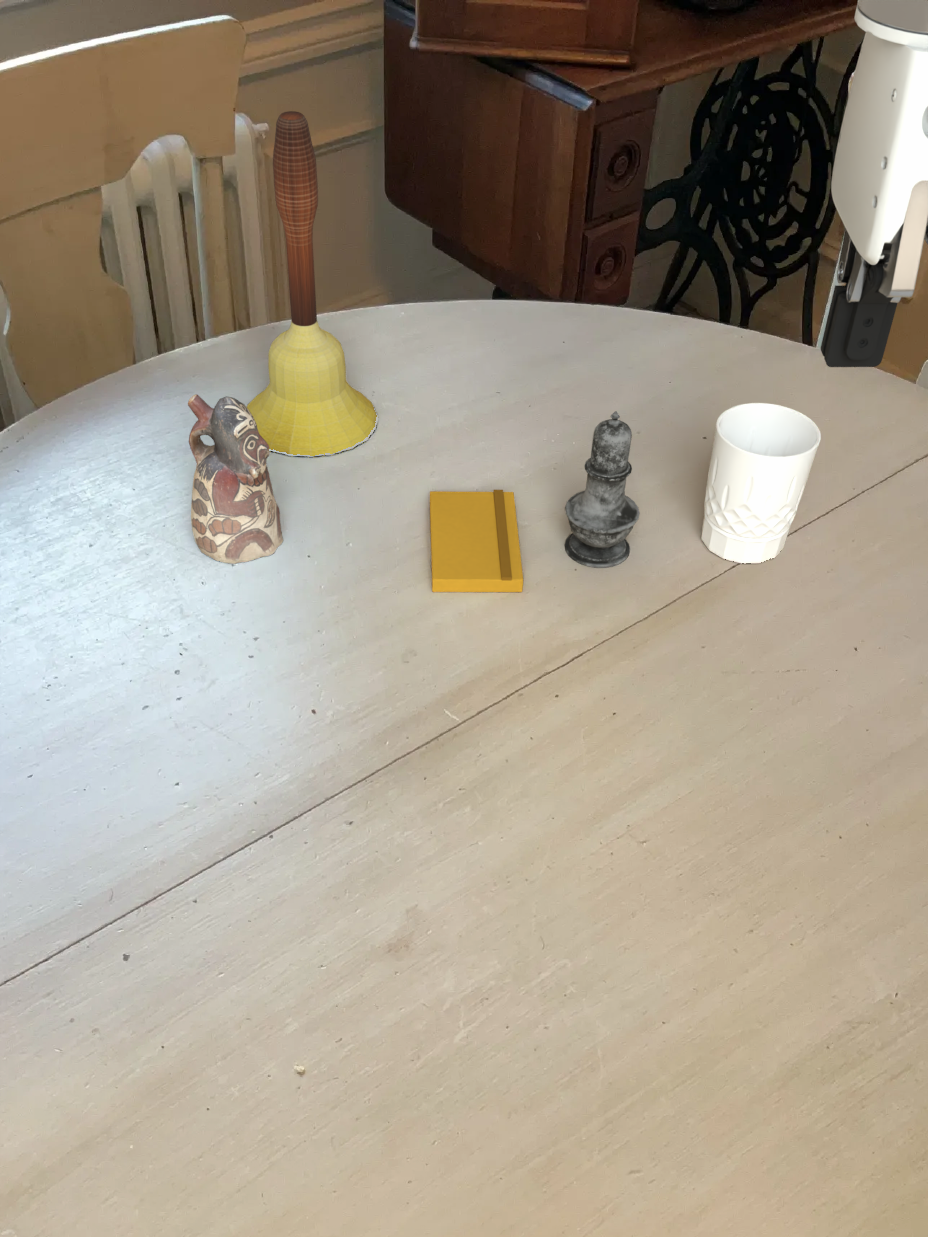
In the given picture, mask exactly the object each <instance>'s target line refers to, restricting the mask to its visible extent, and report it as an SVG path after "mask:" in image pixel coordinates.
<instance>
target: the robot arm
mask: <svg viewBox="0 0 928 1237" xmlns="http://www.w3.org/2000/svg"><path fill="white" fill-rule="evenodd" d="M853 19H854V22H855V23H856V25H857V26H858V27H859V28H860V30H862V31H864V32H865V34H864V37H863V40H862V43H861V45H860V52H859V54H858V55H859V56H858V59H857V63H856V66H855V69H854V70H855V71H854V74H853V78H852V81H851V85H850V86H851V87H850V89H849V94H848V96H847V102H846V106H845V109H844V114H843V117H842V122H841V126H840V131H839V135H838V140H837V146H836V150H835V156H834V162H833V167H832V174H831V175H832V176H831V183H830V189H831V197H832V201H833V204H834V206H835V209H836V210H837V214H838V215H839V217H840V219H841V222H842V224H843V226H844V228H845V229H844V233H843V239H842V244H841V249H840V256H839V260H838V265H837V271H836V277H837V279H836V280H837V283H838V284H845V285H834V288H833V294H832V295H831V296H832V297H831V301H830V306H829V310H828V314H827V318H826V322H825V327H824V332H823V336H822V340H821V344H820V351H821V354H822V356H823V357H824V362H825V364H826V366H827V367H828V368H875V367H878V366H879V365H880V364H882V361H883V358H884V354H885V351H886V347H887V344H888V340H889V336H890V332H891V329H892V325H893V321H894V318H895V314H896V310H897V307H898V303H900V301H901V300H902V298H912V297H913V295H914V293H915V290H916V289H915V288H916V283H917V278H918V273H919V268H920V263H921V262H920V261H921V258H922V252H923V248H924V243H925V242H926V244H927V245H928V0H857V5H856V9H855V12H854V18H853Z"/></svg>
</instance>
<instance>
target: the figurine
mask: <svg viewBox="0 0 928 1237" xmlns="http://www.w3.org/2000/svg"><path fill="white" fill-rule="evenodd" d="M187 406H188V408H189V409H190V411H191V412H192V413H193V414H194V416H195V417H196V419H197V420H196V422H195V423H194V424H193V426H192V427H191V429H190V432H189V435H188V444H189V448H190V452H191V453H192V455H193V458H194V460H195V464H196V465H195V469H194V473H193V479H192V480H193V481H192V487H191V488H192V490H191V503H190V504H191V505H190V524H191V530H192V534H193V539H194V542H195V545H196V546H197V547H198V549H199V551H200V552H201V554H203V553H204V554H203V555H205V556H206V557H208V556H209V557H208V558H210V557H211V558H210V559H212V558H213V559H212V560H214V561H217V562H219V561H220V562H219V563H223V564H232V565H233V564H239V563H248V562H251V561H255V560H257V559H260V558H265V557H269V556H271V555H274V554H275V553H276V551H277V549H278V548H279V547H280V546H281V545H282V543H283V542H284V538H283V532H282V527H281V513H280V512H281V511H280V508H279V506H278V503H277V501H276V498H275V494H274V491H273V490H274V489H273V484H272V481H271V476H270V472H269V471H270V470H269V469H268V466H267V459H268V458H269V457H270V454H271V452H270V451H269V445H268V444H267V442H266V441H265V440H264V439H263V438H262V436H261V435H260V434H259V431H258V429H257V424H256V422H255V420H254V418H253V416H252V414H251V412H250V411H249V410H248V408H247V405H245V403H243V402H241V401H240V400H239V399H237V398H235V397H231V396H226V395H225V396H224V397H221V398H219V399H218V400H217V402H216V404H215V406H214V407H211V406H210V405H209V404H208V403H207V402H206V401H205V400H204V399H203V398H202V397H201V396H200V395H199V394H193V395H192V396H191V397H190V398H189V400H188V401H187ZM201 436H208V437H209V438H211V439H212V441H213V444H211V445H208V444H205V443H204V441H203V440H202V439H201Z"/></svg>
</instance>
